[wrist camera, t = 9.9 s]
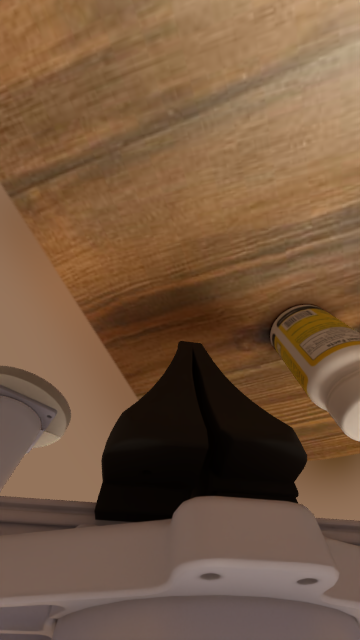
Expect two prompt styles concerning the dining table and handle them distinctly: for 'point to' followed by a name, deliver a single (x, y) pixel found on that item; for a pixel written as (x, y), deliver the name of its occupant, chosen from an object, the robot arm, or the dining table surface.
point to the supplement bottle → (322, 361)
